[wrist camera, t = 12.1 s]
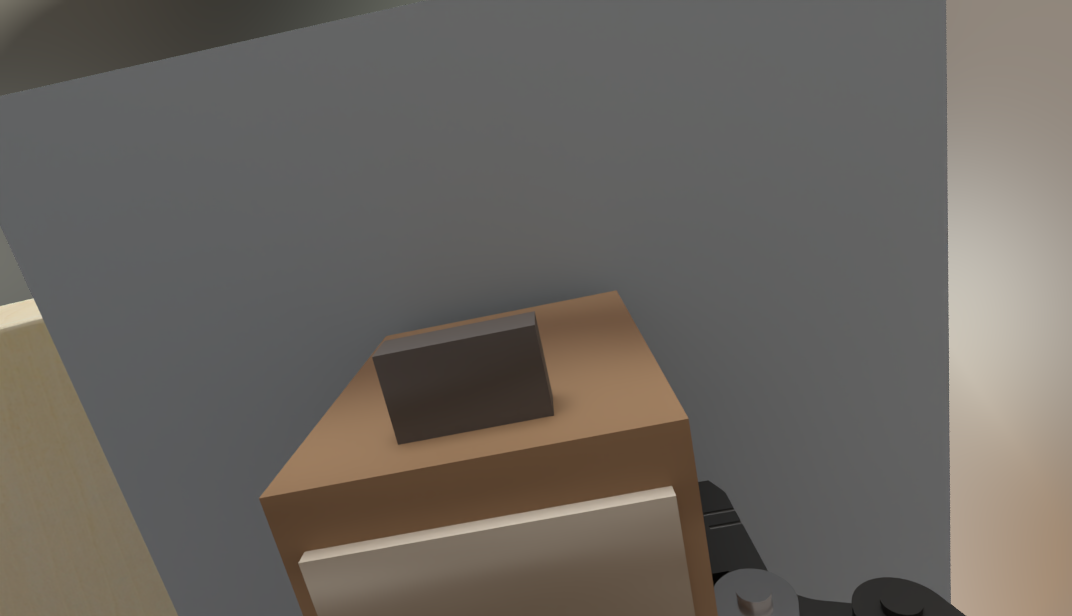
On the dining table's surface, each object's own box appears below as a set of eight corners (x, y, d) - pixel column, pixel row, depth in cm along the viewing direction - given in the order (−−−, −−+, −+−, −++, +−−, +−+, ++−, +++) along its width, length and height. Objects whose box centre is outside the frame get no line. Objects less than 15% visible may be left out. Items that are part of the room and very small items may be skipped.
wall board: (1252, 1353, 11) (1841, -671, 3) (190, 1458, 12) (-1047, 56, 4) (832, 645, 25) (781, -16, 18) (382, 718, 26) (167, 119, 19)
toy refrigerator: (311, 769, 25) (114, 295, 19) (109, 888, 22) (-195, 372, 16) (295, 643, 32) (147, 270, 26) (140, 720, 29) (-64, 320, 23)
